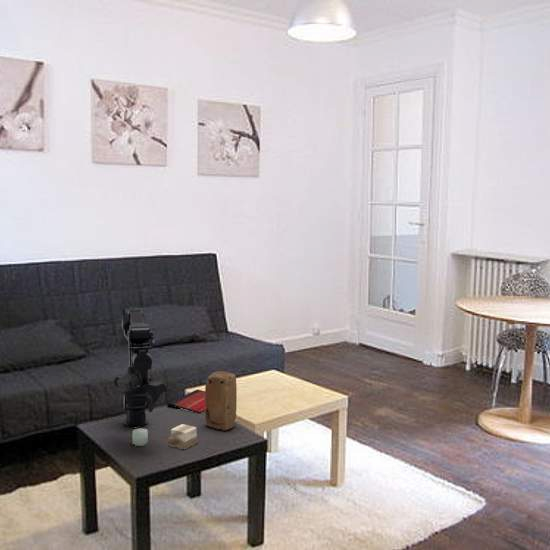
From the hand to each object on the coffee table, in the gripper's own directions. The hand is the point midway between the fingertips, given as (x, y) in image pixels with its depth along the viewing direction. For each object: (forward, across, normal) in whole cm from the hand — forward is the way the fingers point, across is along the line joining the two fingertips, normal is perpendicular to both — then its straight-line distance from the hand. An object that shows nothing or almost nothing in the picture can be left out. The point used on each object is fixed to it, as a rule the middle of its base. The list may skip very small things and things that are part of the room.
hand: (140, 409), depth 213 cm
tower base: (+12, +12, +8) cm, 19 cm away
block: (+12, +12, +28) cm, 33 cm away
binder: (+12, -11, +44) cm, 47 cm away
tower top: (+9, +12, +8) cm, 17 cm away
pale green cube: (+12, 0, 0) cm, 12 cm away
